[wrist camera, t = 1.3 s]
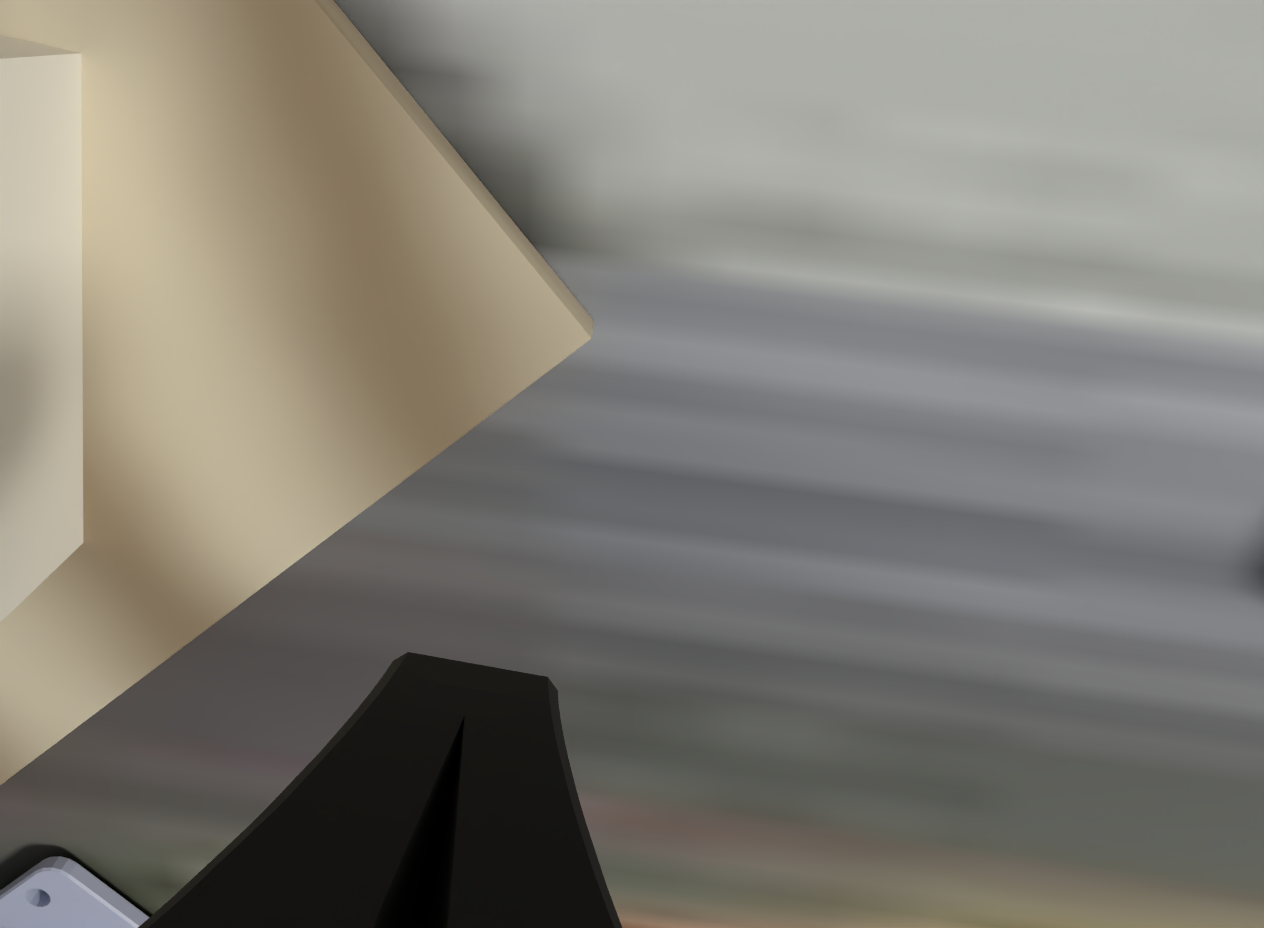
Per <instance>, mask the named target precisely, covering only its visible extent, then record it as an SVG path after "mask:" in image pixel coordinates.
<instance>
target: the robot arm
mask: <svg viewBox="0 0 1264 928" xmlns="http://www.w3.org/2000/svg"><path fill="white" fill-rule="evenodd" d="M0 928H622V926H621V923H620V921H619V918H618V915H617V913H616V910H615V907H614V904H613V902H612V899H611V896H610V894H609V891H608V888H607V885H606V882H605V879H604V876H603V873H602V870H601V867H600V864H599V861H598V858H597V855H596V852H595V849H594V846H593V843H592V840H591V837H590V834H589V831H588V828H587V825H586V822H585V819H584V815H583V812H582V808H581V805H580V801H579V798H578V794H577V791H576V787H575V783H574V779H573V775H572V771H571V767H570V763H569V759H568V755H567V750H566V746H565V741H564V736H563V731H562V725H561V719H560V712H559V704H558V690H557V689H556V688H555V686H554V685H553V683H552V682H551V681H550V679H549V678H548V677H545V676H539V675H533V674H528V673H522V672H517V671H511V670H505V669H500V668H494V667H489V666H483V665H477V664H472V663H466V662H461V661H455V660H449V659H444V658H438V657H433V656H427V655H421V654H416V653H410V652H408V653H406V654H404V655H402V656H401V657H399V658H397V659H395V660H394V661H393V662H392V663H391V665H390V666H389V668H388V669H387V671H386V672H385V674H384V675H383V677H382V678H381V679H380V681H379V682H378V683H377V685H376V686H375V687H374V689H373V690H372V691H371V693H370V694H369V695H368V696H367V698H366V699H365V700H364V701H363V703H362V704H361V705H360V706H359V708H358V709H357V710H356V711H355V712H354V714H353V715H352V716H351V717H350V718H349V720H348V721H347V722H346V723H345V724H344V725H343V726H342V728H341V729H340V730H339V731H338V732H337V733H336V735H335V736H334V737H333V738H332V739H331V740H330V741H329V743H328V744H327V745H326V746H325V747H324V748H323V749H322V751H321V752H320V753H319V754H318V755H317V756H316V757H315V758H314V759H313V760H312V761H311V762H310V763H309V764H308V765H307V766H306V767H305V768H304V770H303V771H302V772H301V773H300V774H299V775H298V776H297V777H296V778H295V779H294V780H293V781H292V782H291V783H290V784H289V785H288V786H287V787H286V788H285V790H284V791H283V792H282V793H281V794H280V795H279V796H278V797H277V798H276V799H275V800H274V801H273V802H272V803H271V804H270V805H269V806H268V807H267V808H266V809H265V810H264V811H263V812H262V813H261V814H260V815H259V816H258V817H257V818H256V819H255V820H254V821H253V822H252V823H251V824H250V825H249V826H248V827H247V828H246V829H245V830H244V831H243V832H242V833H241V834H240V835H239V836H238V837H237V838H236V839H234V840H233V841H232V842H231V843H230V844H229V845H228V846H227V847H226V848H225V849H224V850H223V851H222V852H221V853H219V854H218V855H217V856H216V857H215V858H214V859H213V860H212V861H211V862H210V863H209V864H208V865H207V866H206V867H205V868H203V869H202V870H201V871H200V872H199V873H198V874H197V875H196V876H195V877H194V878H193V879H192V880H191V881H190V882H188V883H187V884H186V885H185V886H184V887H183V888H182V889H181V890H180V891H179V892H178V893H177V894H176V895H175V896H173V897H172V898H171V899H170V900H169V901H168V902H167V903H166V904H164V905H163V906H162V907H161V908H160V909H159V910H158V911H156V912H155V913H154V914H153V915H152V916H151V917H148V916H147V915H146V914H144V913H143V912H142V911H140V910H139V909H138V908H136V907H135V906H134V905H132V904H131V903H130V902H128V901H127V900H126V899H124V898H123V897H122V896H121V895H119V894H118V893H117V892H115V891H114V890H113V889H111V888H110V887H109V886H107V885H106V884H105V883H103V882H102V881H101V880H99V879H98V878H97V877H95V876H94V875H93V874H91V873H90V872H89V871H87V870H86V869H85V868H83V867H82V866H81V865H79V864H78V863H77V862H75V861H73V860H71V859H69V858H65V857H61V856H58V857H49V858H47V859H44V860H42V861H41V862H39V863H38V864H37V865H35V866H34V867H32V868H31V869H30V870H28V871H27V872H25V873H24V874H23V875H21V876H20V877H18V878H17V879H16V880H14V881H13V882H11V883H10V884H9V885H7V886H6V887H4V888H3V889H2V890H0Z"/></svg>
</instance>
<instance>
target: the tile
mask: <svg viewBox="0 0 1264 928" xmlns="http://www.w3.org/2000/svg"><path fill="white" fill-rule="evenodd" d="M82 544H83V344H82V122H81V53H78V52H73V51H69V50H65V49H60V48H56V47H51V46H47V45H42V44H38V43H33V42H29V41H24V40H20V39H16V38H11V37H7V36H2V35H0V622H1V621H2V620H3V619H5V618H6V617H7V616H8V615H9V614H10V613H11V612H12V611H13V610H14V609H15V608H16V607H17V606H18V605H19V604H20V603H21V602H22V601H23V600H24V599H25V598H26V597H27V596H28V595H29V594H31V593H32V592H33V591H34V590H35V589H36V588H37V587H38V586H39V585H40V584H41V583H42V582H43V581H44V580H45V579H46V578H47V577H48V576H49V575H50V574H51V573H52V572H53V571H54V570H56V569H57V568H58V567H59V566H60V565H61V564H62V563H63V562H64V561H65V560H66V559H67V558H68V557H69V556H70V555H71V554H72V553H73V552H74V551H75V550H76V549H77V548H78V547H79V546H80V545H82Z"/></svg>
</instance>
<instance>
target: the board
mask: <svg viewBox="0 0 1264 928" xmlns="http://www.w3.org/2000/svg"><path fill="white" fill-rule="evenodd" d="M0 35H2V36H7V37H11V38H16V39H20V40H24V41H29V42H33V43H38V44H42V45H47V46H51V47H56V48H60V49H65V50H69V51H73V52H78V53H81V122H82V344H83V544H82V545H80V546H79V547H78V548H77V549H76V550H75V551H74V552H73V553H72V554H71V555H70V556H69V557H68V558H67V559H66V560H65V561H64V562H63V563H62V564H61V565H60V566H59V567H58V568H57V569H56V570H54V571H53V572H52V573H51V574H50V575H49V576H48V577H47V578H46V579H45V580H44V581H43V582H42V583H41V584H40V585H39V586H38V587H37V588H36V589H35V590H34V591H33V592H32V593H31V594H29V595H28V596H27V597H26V598H25V599H24V600H23V601H22V602H21V603H20V604H19V605H18V606H17V607H16V608H15V609H14V610H13V611H12V612H11V613H10V614H9V615H8V616H7V617H6V618H5V619H3V620H2V621H1V622H0V785H1V784H2V783H4V782H5V781H6V780H8V779H9V778H10V777H12V776H13V775H14V774H16V773H17V772H18V771H19V770H21V769H22V768H23V767H25V766H26V765H27V764H29V763H30V762H31V761H33V760H34V759H35V758H37V757H38V756H39V755H41V754H42V753H43V752H45V751H46V750H47V749H49V748H50V747H51V746H53V745H54V744H55V743H57V742H58V741H59V740H61V739H62V738H63V737H65V736H66V735H67V734H68V733H70V732H71V731H72V730H74V729H75V728H76V727H78V726H79V725H80V724H82V723H83V722H84V721H86V720H87V719H88V718H90V717H91V716H92V715H94V714H95V713H96V712H98V711H99V710H100V709H102V708H103V707H104V706H106V705H107V704H108V703H110V702H111V701H112V700H113V699H115V698H116V697H117V696H119V695H120V694H121V693H123V692H124V691H125V690H127V689H128V688H129V687H131V686H132V685H133V684H135V683H136V682H137V681H139V680H140V679H141V678H143V677H144V676H145V675H147V674H148V673H149V672H151V671H152V670H153V669H155V668H156V667H157V666H159V665H160V664H161V663H162V662H164V661H165V660H166V659H168V658H169V657H170V656H172V655H173V654H174V653H176V652H177V651H178V650H180V649H181V648H182V647H184V646H185V645H186V644H188V643H189V642H190V641H192V640H193V639H194V638H196V637H197V636H198V635H200V634H201V633H202V632H204V631H205V630H206V629H207V628H209V627H210V626H211V625H213V624H214V623H215V622H217V621H218V620H219V619H221V618H222V617H223V616H225V615H226V614H227V613H229V612H230V611H231V610H233V609H234V608H235V607H237V606H238V605H239V604H241V603H242V602H243V601H245V600H246V599H247V598H249V597H250V596H251V595H253V594H254V593H255V592H256V591H258V590H259V589H260V588H262V587H263V586H264V585H266V584H267V583H268V582H270V581H271V580H272V579H274V578H275V577H276V576H278V575H279V574H280V573H282V572H283V571H284V570H286V569H287V568H288V567H290V566H291V565H292V564H294V563H295V562H296V561H298V560H299V559H300V558H301V557H303V556H304V555H305V554H307V553H308V552H309V551H311V550H312V549H313V548H315V547H316V546H317V545H319V544H320V543H321V542H323V541H324V540H325V539H327V538H328V537H329V536H331V535H332V534H333V533H335V532H336V531H337V530H339V529H340V528H341V527H343V526H344V525H345V524H347V523H348V522H349V521H350V520H352V519H353V518H354V517H356V516H357V515H358V514H360V513H361V512H362V511H364V510H365V509H366V508H368V507H369V506H370V505H372V504H373V503H374V502H376V501H377V500H378V499H380V498H381V497H382V496H384V495H385V494H386V493H388V492H389V491H390V490H392V489H393V488H394V487H395V486H397V485H398V484H399V483H401V482H402V481H403V480H405V479H406V478H407V477H409V476H410V475H411V474H413V473H414V472H415V471H417V470H418V469H419V468H421V467H422V466H423V465H425V464H426V463H427V462H429V461H430V460H431V459H433V458H434V457H435V456H437V455H438V454H439V453H440V452H442V451H443V450H444V449H446V448H447V447H448V446H450V445H451V444H452V443H454V442H455V441H456V440H458V439H459V438H460V437H462V436H463V435H464V434H466V433H467V432H468V431H470V430H471V429H472V428H474V427H475V426H476V425H478V424H479V423H480V422H482V421H483V420H484V419H486V418H487V417H488V416H489V415H491V414H492V413H493V412H495V411H496V410H497V409H499V408H500V407H501V406H503V405H504V404H505V403H507V402H508V401H509V400H511V399H512V398H513V397H515V396H516V395H517V394H519V393H520V392H521V391H523V390H524V389H525V388H527V387H528V386H529V385H531V384H532V383H533V382H534V381H536V380H537V379H538V378H540V377H541V376H542V375H544V374H545V373H546V372H548V371H549V370H550V369H552V368H553V367H554V366H556V365H557V364H558V363H560V362H561V361H562V360H564V359H565V358H566V357H568V356H569V355H570V354H572V353H573V352H574V351H576V350H577V349H578V348H580V347H581V346H582V345H583V344H585V343H586V342H587V341H589V340H590V339H591V338H592V330H593V322H594V321H593V319H592V318H591V317H590V316H589V315H588V313H587V312H586V311H585V310H584V308H583V307H582V306H581V305H580V303H579V302H578V301H577V300H576V299H575V297H574V296H573V295H572V294H571V292H570V291H569V290H568V289H567V287H566V286H565V285H564V284H563V283H562V281H561V280H560V279H559V278H558V276H557V275H556V274H555V273H554V271H553V270H552V269H551V268H550V267H549V265H548V264H547V263H546V262H545V260H544V259H543V258H542V257H541V255H540V254H539V253H538V252H537V251H536V249H535V248H534V247H533V246H532V244H531V243H530V242H529V241H528V239H527V238H526V237H525V236H524V235H523V233H522V232H521V231H520V230H519V228H518V227H517V226H516V225H515V223H514V222H513V221H512V220H511V219H510V217H509V216H508V215H507V214H506V212H505V211H504V210H503V209H502V207H501V206H500V205H499V204H498V202H497V201H496V200H495V199H494V198H493V196H492V195H491V194H490V193H489V191H488V190H487V189H486V188H485V186H484V185H483V184H482V183H481V182H480V180H479V179H478V178H477V177H476V175H475V174H474V173H473V172H472V170H471V169H470V168H469V167H468V166H467V164H466V163H465V162H464V161H463V159H462V158H461V157H460V156H459V154H458V153H457V152H456V151H455V150H454V148H453V147H452V146H451V145H450V143H449V142H448V141H447V140H446V138H445V137H444V136H443V135H442V134H441V132H440V131H439V130H438V129H437V127H436V126H435V125H434V124H433V122H432V121H431V120H430V119H429V118H428V116H427V115H426V114H425V113H424V111H423V110H422V109H421V108H420V106H419V105H418V104H417V103H416V102H415V100H414V99H413V98H412V97H411V95H410V94H409V93H408V92H407V90H406V89H405V88H404V87H403V86H402V84H401V83H400V82H399V81H398V79H397V78H396V77H395V76H394V74H393V73H392V72H391V71H390V69H389V68H388V67H387V66H386V65H385V63H384V62H383V61H382V60H381V58H380V57H379V56H378V55H377V53H376V52H375V51H374V50H373V49H372V47H371V46H370V45H369V44H368V42H367V41H366V40H365V39H364V37H363V36H362V35H361V34H360V33H359V31H358V30H357V29H356V28H355V26H354V25H353V24H352V23H351V21H350V20H349V19H348V18H347V17H346V15H345V14H344V13H343V12H342V10H341V9H340V8H339V7H338V5H337V4H336V3H335V2H334V1H333V0H0Z"/></svg>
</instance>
